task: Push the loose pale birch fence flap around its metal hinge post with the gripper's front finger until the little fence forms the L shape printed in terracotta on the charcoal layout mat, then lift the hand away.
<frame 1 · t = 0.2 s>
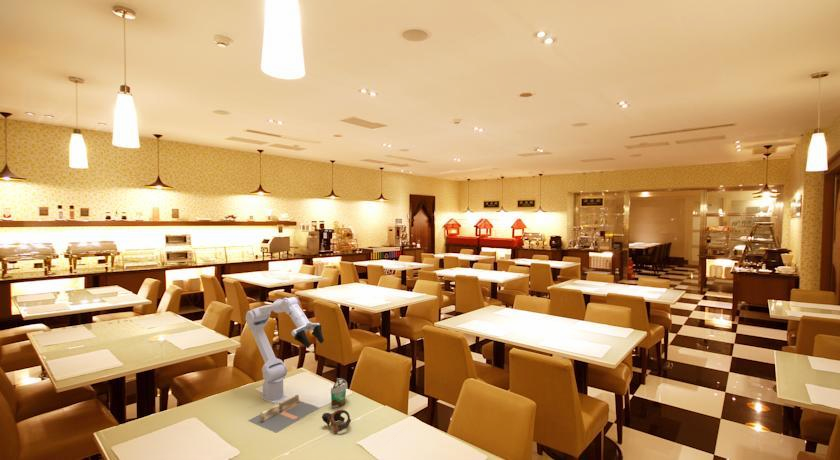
hand: (315, 344, 174), 31 cm above the table, tool tilted 50°, fingers open, 7 cm apart
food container: (340, 404, 185), on the table
fence flap: (269, 413, 172), point 2 cm above the table, hinge at 0.0°
layout mat: (285, 414, 175), on the table
fixed fence section: (280, 412, 177), resting on layout mat
pottery mug: (336, 428, 166), on the table
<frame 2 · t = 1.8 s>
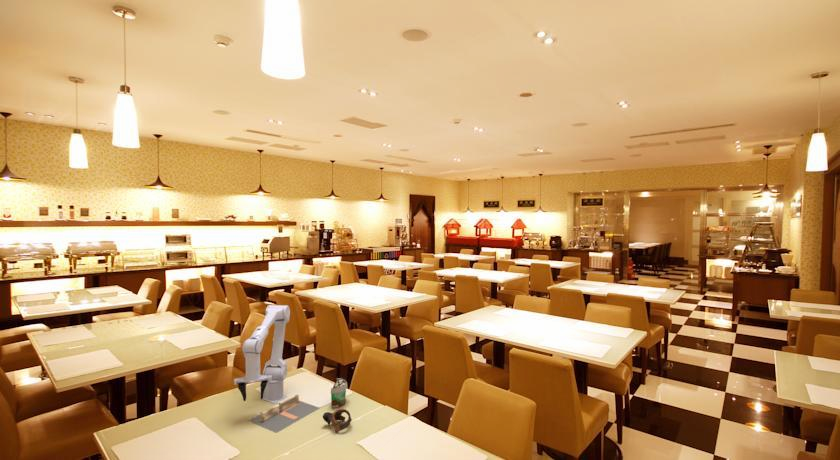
hand: (253, 399, 170), 9 cm above the table, tool pointing down, fingers open, 6 cm apart
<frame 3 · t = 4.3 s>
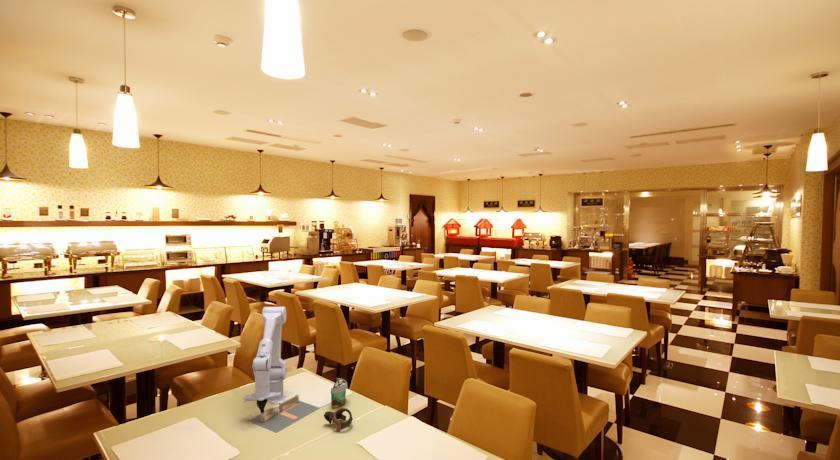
hand: (262, 416, 171), 2 cm above the table, tool pointing down, fingers closed, pressing on fence flap
fence flap: (270, 413, 172), point 2 cm above the table, hinge at 1.4°, touching gripper
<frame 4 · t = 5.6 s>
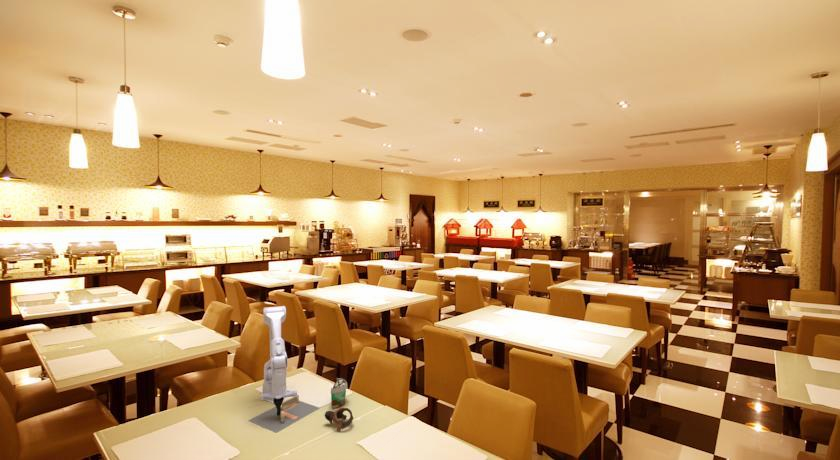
hand: (279, 414, 172), 2 cm above the table, tool pointing down, fingers closed, pressing on fence flap
fence flap: (281, 413, 172), point 2 cm above the table, hinge at 56.0°, touching gripper
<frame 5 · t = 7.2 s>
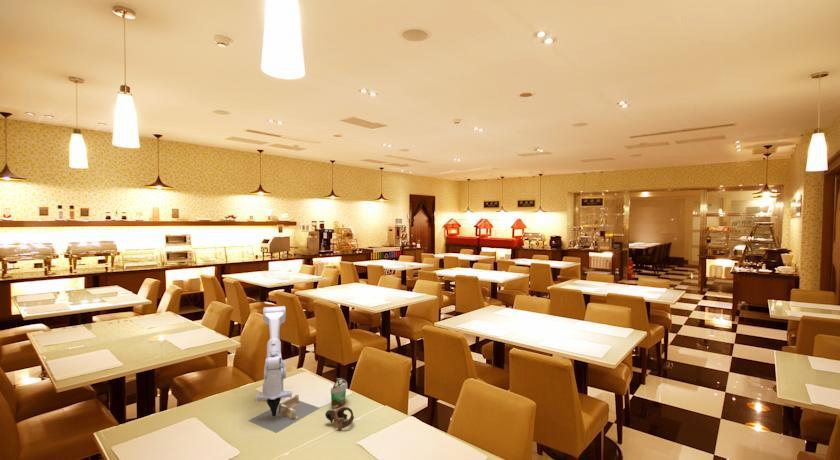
hand: (274, 414, 172), 2 cm above the table, tool pointing down, fingers closed
fence flap: (288, 411, 174), point 2 cm above the table, hinge at 85.5°
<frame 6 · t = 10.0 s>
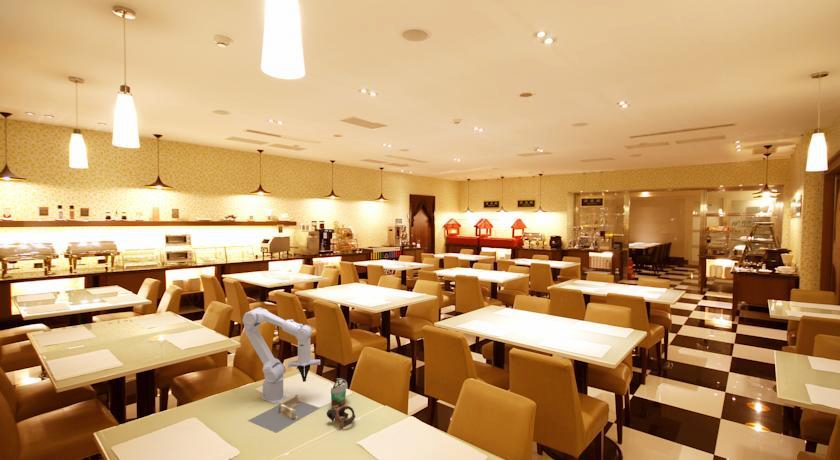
hand: (304, 380, 189), 9 cm above the table, tool pointing down, fingers closed
at the end: fence flap at +86° (first picture: +0°); the gripper is holding nothing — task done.
